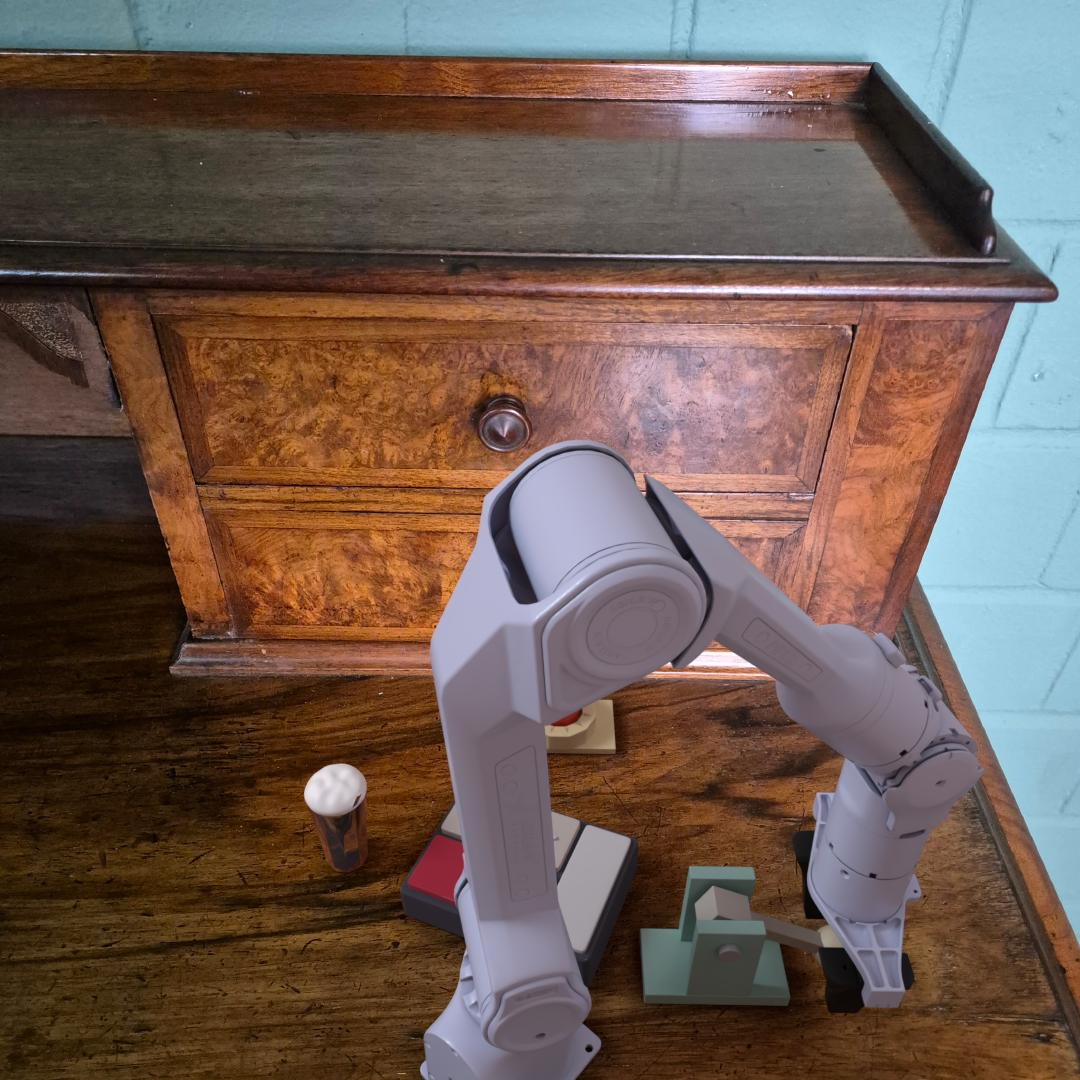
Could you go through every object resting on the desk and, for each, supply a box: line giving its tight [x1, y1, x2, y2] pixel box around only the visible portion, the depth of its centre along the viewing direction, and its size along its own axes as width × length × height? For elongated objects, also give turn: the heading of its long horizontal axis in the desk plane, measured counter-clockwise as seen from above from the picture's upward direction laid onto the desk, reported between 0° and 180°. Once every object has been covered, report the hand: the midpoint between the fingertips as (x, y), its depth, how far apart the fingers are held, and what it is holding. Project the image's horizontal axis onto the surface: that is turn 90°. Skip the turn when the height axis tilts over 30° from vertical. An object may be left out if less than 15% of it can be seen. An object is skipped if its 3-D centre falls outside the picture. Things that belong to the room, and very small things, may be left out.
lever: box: [695, 886, 843, 967], centre depth 65 cm, size 12×3×3 cm, turn 89°
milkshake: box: [303, 763, 369, 874], centre depth 72 cm, size 4×5×10 cm
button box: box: [545, 699, 617, 755], centre depth 86 cm, size 6×10×2 cm, turn 89°
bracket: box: [638, 865, 791, 1007], centre depth 65 cm, size 10×6×9 cm, turn 89°
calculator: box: [399, 799, 639, 989], centre depth 72 cm, size 11×4×15 cm
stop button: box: [550, 710, 579, 727], centre depth 85 cm, size 4×4×2 cm
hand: (829, 959), depth 67 cm, fingers open, 6 cm apart
